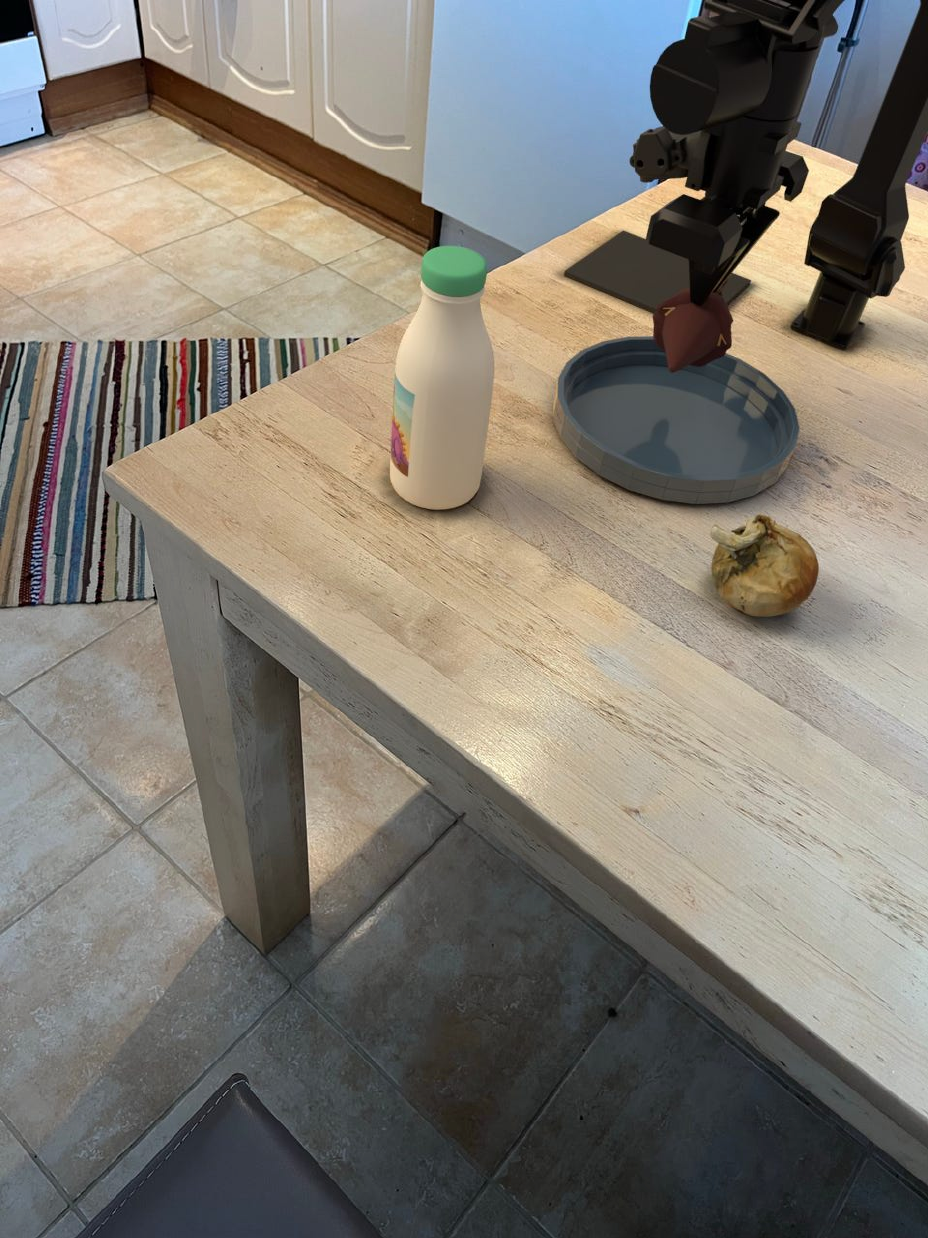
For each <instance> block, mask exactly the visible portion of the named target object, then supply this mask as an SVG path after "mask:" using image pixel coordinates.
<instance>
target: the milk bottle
mask: <svg viewBox="0 0 928 1238" xmlns="http://www.w3.org/2000/svg"><path fill="white" fill-rule="evenodd" d="M420 267H421V268H420V270H421V271H420V278H421V280H420V289H421V291H422V297H421V300H420V303H419V306H418V309H417V311H416V313H415V315H414V317H413V318H412V320H411V322H410V324H409V325H408V327H407V328H406V330H405V332H404V334H403V336H402V338H401V341H400V344H399V347H398V350H397V354H396V355H397V356H396V361H395V369H394V379H393V397H392V400H393V401H392V412H391V413H392V415H391V433H390V435H391V437H390V456H389V457H390V459H389V480H390V483H391V485H392V487H393V489H394V491H395V492H396V493H397V494H398V496H399V497H401V498H402V499H403V500H404V501H406V502H407V503H410V504H411V505H413V506H417V507H419V508H423V509H427V510H436V511H437V510H449V509H454V508H457V507H460V506H463V505H465V504H467V503H468V502H469V501H470V500H471V499H472V498H474V496H475V494H476V493H477V492H478V491H479V488H480V486H481V481H482V475H483V469H484V468H483V467H484V462H485V461H484V460H485V455H486V454H485V453H486V447H487V438H488V432H489V424H490V415H491V408H492V401H493V393H494V392H493V391H494V383H495V382H494V380H495V356H494V349H493V344H492V341H491V338H490V335H489V332H488V330H487V326H486V324H485V321H484V317H483V311H482V307H481V299H482V297H483V296H484V295H485V291H486V288H485V285H486V283H487V276H488V263H487V261H486V258H485V257H483V255H481V254H480V253H479V252H477V251H475V250H474V249H470V248H469V247H464V246H459V245H441V246H437V247H434V248H431V249H429V250H428V251H427V252H425V253H424V255H423V258H422V260H421V266H420Z"/></svg>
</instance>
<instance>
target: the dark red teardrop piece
mask: <svg viewBox="0 0 928 1238" xmlns="http://www.w3.org/2000/svg"><path fill="white" fill-rule="evenodd" d="M727 281H728V278H727V280H726V281H725V282H724V283H723V285H722V286H721V287H720V288H719V290H718V291H717V292H716V293H714V292H712V293H711V295H710V296H709V297H708V299H707V300H706V301H705V303H704V304H703V305H702V306H698V305H696V304H693V303H692V302H691V301H690V288H689V289H682V290H681V291H680V292H679V293H677V294H676V295H675V296H673V297H671V298H669V299H668V300H667V301H664V302H662V303H661V304H659V305H658V307H657V311H656V312H655V313H653V315H652V323H653V328H652V329H653V332H652V336H653V338H654V342H655V343H656V344H657V345H658V347H660V348H661V349H662V350H663V351H664V352H665V353H666V356H667V362H668V368H669V371H670V372H671V373H674V372H676V371H678V370H680V369H682V368H683V367H685V366H687V365H691V366H695V367H701V366H704V365H706V364H708V363H710V362H712V361H713V360H715V359H718V358H721V357H723V356H724V355H725V353H727V351H728V350H730V349H731V348H732V347H733V346H732V345H733V339H732V324H733V322H734V319H733V315H732V314H731V311H730V309H729V306H728V305H726V302H725V300H724V298H723V297H722V292H721V291H722V290H723V288H724V286H725V284H726V283H727Z"/></svg>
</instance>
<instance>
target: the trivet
mask: <svg viewBox="0 0 928 1238" xmlns="http://www.w3.org/2000/svg"><path fill="white" fill-rule="evenodd" d="M563 276H564V277H566V278H569V279H571V280H573V281H576V282H578V283H581V284H583V285H585V286H588V287H591V288H593V289H595V290H597V291H600V292H602V293H605V294H608V295H609V296H612V297H614V298H617V299H619V300H622V301H623V302H626V303H628V304H630V305H634V306H635V307H638V308H640V309H642V310H645V311H648V312H650V313H653V314H654V313H655V312H656V311H657V307H658V305H659V304H661V303H662V302H664V301H667V300H668V299H669V298H671V297H673V296H675V295H676V294H677V293H679V292H680V291H681V290H682V289H689V288H690V283H689V261H688V259H686V258H684V257H681V256H678V255H676V254H673V253H670V252H668V251H665V250H663V249H660V248H657V247H655V246H652V245H649V244H648V242H647V241H646V238H645V237H641V236H639V235H637V234H634V233H631V232H629V231H626V230H622V231H620V232H619V233H617V234H616V235H615V236H612V237H611V238H610V239H609V240H607V241H606V242H604V243H602V244H601V245H599V246H598V247H597V248H595V249H594V250H592V251H591V252H590V253H588V254H587V255H586V256H584V257H582V258H581V259H580V260H578V261H577V262H575V263H574V264H572V265H571V266H569V267H568V268H567V269H565V270H564V272H563ZM751 283H752V279H750V278H746V277H744V276H741V275H738V274H736V273H734V272H732V273H731V275H730V276H729V277H728V281H727V283H726V284H725V286H724V288H723V290H722V291H721V292H722V297H723V298H724V300H725V302H726V305H727V306H729V304H731V303H732V302H733V301H734V300H736V298H737V297H738V296H739V295H740V294H741V293H743V292H744V291H745V290H746V289H747V288H749V286H750V285H751Z"/></svg>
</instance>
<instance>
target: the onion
mask: <svg viewBox="0 0 928 1238" xmlns="http://www.w3.org/2000/svg"><path fill="white" fill-rule="evenodd" d="M745 522H746V525H741V526H739V527H737V528H735V529H731V530H727V529H725V528H722V527H720V526H719V525H718V524H716V523H714V524H713V525H712V527H711V530H710V533H709V536H710V538H711V540H712V541H715V543H717V546H716V547H715V550H714V553H713V555H712V558H711V577H712V580H713V583H714V586H715V589H716V591H717V593H718V594H719V596H720V598H722V600H723V601H724V602H725V603H727V604H728V606H730V607H732V608H734V609H736V610H738V611H741V612H742V613H744V614H746V615H748V616H751V617H775V616H781V615H785V614H787V613H790V612H792V611H794V610H796V609H797V608H798V607H800V606H801V605H802V604H803V603H804V602H805V601H807V600H808V598H809V597H810V596H811V595H812V593H813V591H814V590H815V588H816V584H817V581H818V577H819V571H820V566H819V565H820V564H819V560H818V557H817V554H816V552H815V550H814V548H813V547H812V545H811V544H810V543H809V541H808V540H807V539H805V538H804V537H803V536H802V535H801V534H800V533H798V532H796V531H794V530H792V529H789V528H787V527H786V526H785V527H784V526H782V525H780V524H779V523H777V522H776V520H775V519H773V518H772V517H771V516H770V515H765V514H761V513H759V514H756V515H755V516H754V518H753V520H751V519H748V518H746V519H745Z"/></svg>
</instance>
